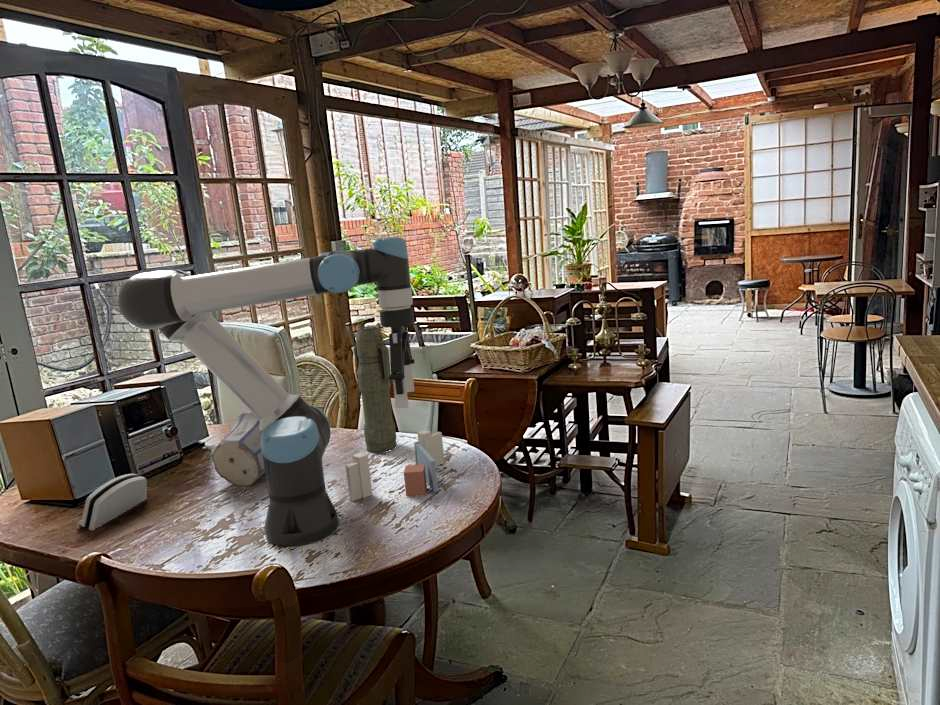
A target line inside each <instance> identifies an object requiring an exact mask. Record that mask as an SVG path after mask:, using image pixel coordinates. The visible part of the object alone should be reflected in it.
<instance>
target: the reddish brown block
mask: <svg viewBox="0 0 940 705" xmlns="http://www.w3.org/2000/svg"><path fill="white" fill-rule="evenodd" d="M403 480H404V486H405V496H412V497H417V496H416V495H427V491H426V490H427V489H428V484H427V482H426V473H425V464H422V465H416V464H409V465H405V467H404V471H403Z"/></svg>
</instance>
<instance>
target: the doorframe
mask: <svg viewBox="0 0 940 705" xmlns="http://www.w3.org/2000/svg"><path fill="white" fill-rule="evenodd" d="M417 442H420V444H421V445H422V447H423V448H424V449H425V450H426V451H427V452H428V453H429V454H430V455H431V457H432V458H433V459H434V460H435V463H436V466H437V467H439V466H438V465H440V464H442V463H444V462H445V454H444V443H443V433H442V432H441V431H436V432H434V433H432V431H430V430H427V429H423V430H420V431H418V432H417ZM352 462H353V463H350V464H347V465H345V471H346V480H347V488H348V495H349V497H348V498H349V501H351V502H354V501H357V500H360V499H365V498H367V497H370V496H372V495H373V489H372V480H371V479H372V478H371V473H370V472H371V471H370V463H369V455H368V454H366V453H364V452H359V453H357V454H354V455H352ZM444 464H445V463H444ZM442 465H443V464H442ZM440 466H441V465H440Z"/></svg>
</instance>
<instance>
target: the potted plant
mask: <svg viewBox="0 0 940 705" xmlns="http://www.w3.org/2000/svg"><path fill="white" fill-rule="evenodd" d="M229 426H230V427H229V434H228V435H227V436H225V437H224V438H223V439H222V440H221V441H220V442H219V443H218V444H217V446H216V447H215V449H214V450H213V452H212V454H211V459H212V463H213V466H214V471H215V472H216V473H217V474H218V475H219V476H220V478H221V479H222V478H223V479H224V480H225V481H226V482H228V483H230V484H232V485H234V486H236V487H249V486H252V485H253V484H254V483H255V482H256V481H258V480H259V479H260V478H261V477H262V476H263V475H265V468H264V461H263V455H262V452H261V447H260V444H261V433H262V432H261V431H260V421H259V419H258V418H257V417H256V416H255V415H254V414H253V413H252V412H251V411H243V412H241V413H240V414H239V415H238V416H237V417H236V418H235V419H234V421H232V423H231V425H229Z"/></svg>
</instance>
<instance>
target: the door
mask: <svg viewBox="0 0 940 705" xmlns="http://www.w3.org/2000/svg"><path fill="white" fill-rule="evenodd" d="M413 446H414V456H415V465H422V464H425V473H426V483H427V486H429V487H430V489H431V490H432V491H433V492H434V493H435V492H436V493H437V492H439V486H438V476H437V467H436V463H435V460H434V459H433V458H432V457H431V455H430V454H429V453H428V452H427V451H426V450H425V449H424V448H423V447H422V445H421V444H420V442H418V441H414V442H413Z"/></svg>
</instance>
